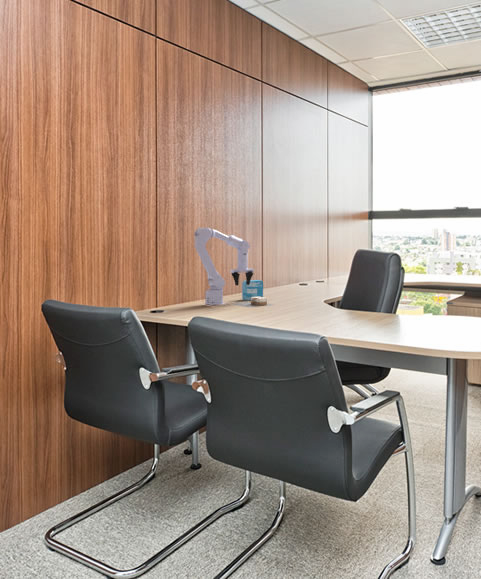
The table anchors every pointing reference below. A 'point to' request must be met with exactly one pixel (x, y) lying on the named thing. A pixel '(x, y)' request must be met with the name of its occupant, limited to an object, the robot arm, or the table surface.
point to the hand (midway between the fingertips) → (242, 285)
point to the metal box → (258, 301)
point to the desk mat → (249, 304)
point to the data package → (252, 289)
